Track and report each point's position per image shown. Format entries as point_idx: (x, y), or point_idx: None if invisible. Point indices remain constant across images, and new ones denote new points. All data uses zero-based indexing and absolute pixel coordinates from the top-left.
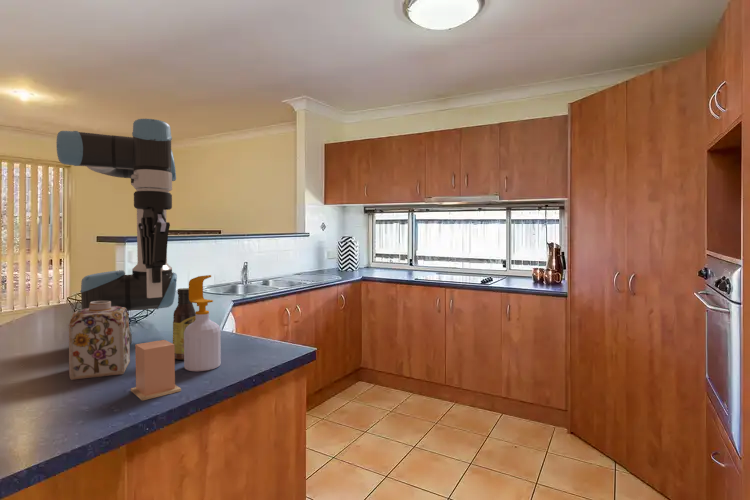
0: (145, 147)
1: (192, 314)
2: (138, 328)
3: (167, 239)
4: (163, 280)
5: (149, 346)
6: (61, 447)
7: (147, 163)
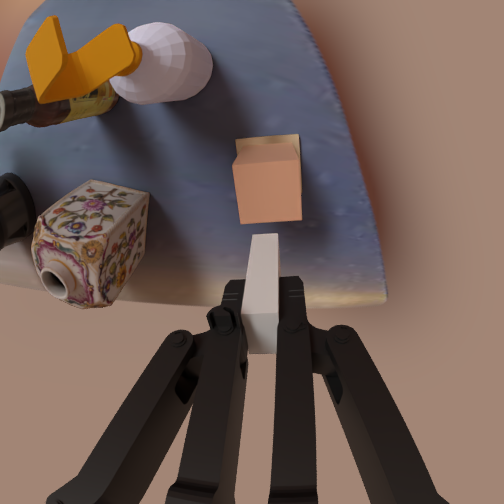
0: None
1: None
2: None
3: (420, 458)
4: None
5: (279, 206)
6: (372, 277)
7: None
